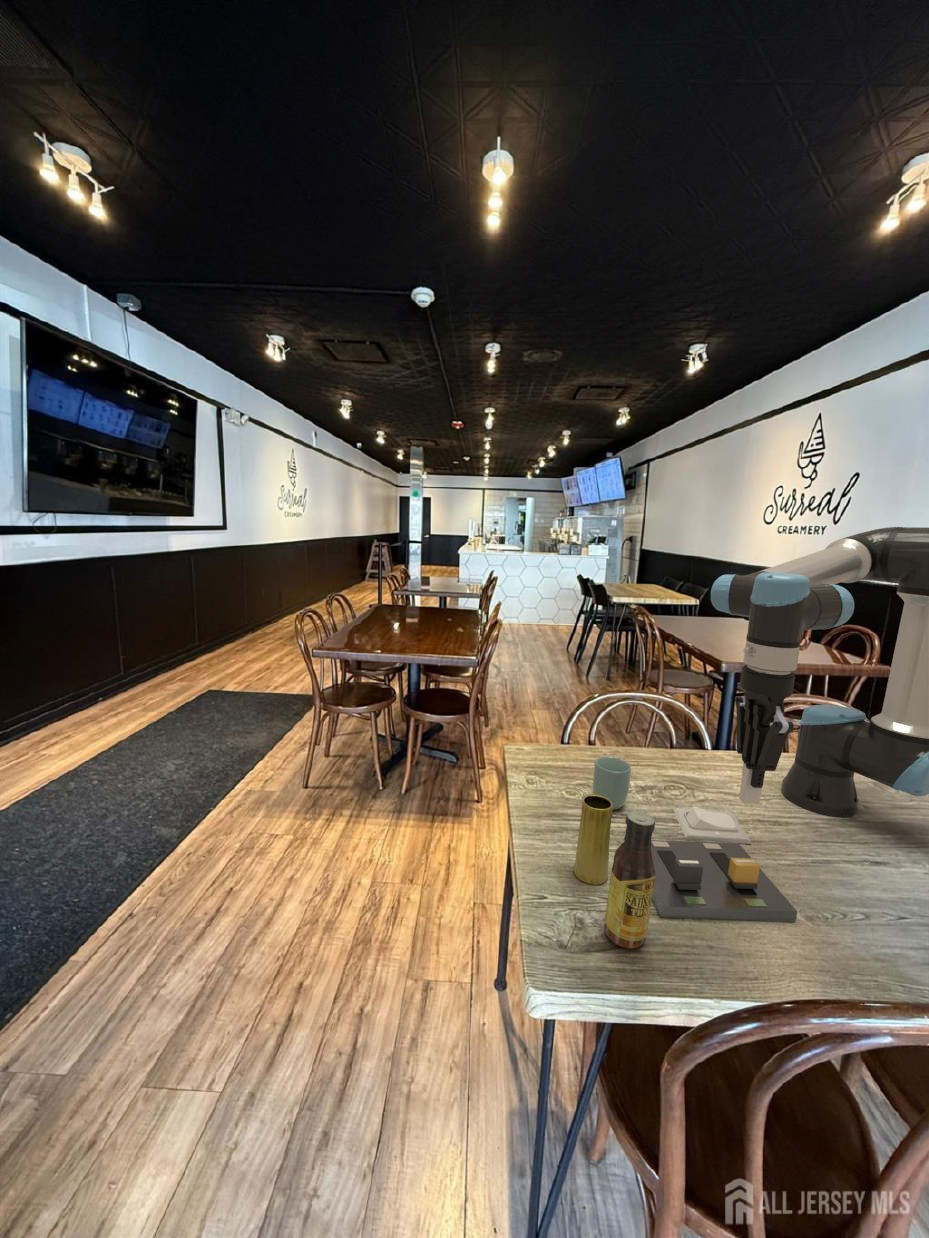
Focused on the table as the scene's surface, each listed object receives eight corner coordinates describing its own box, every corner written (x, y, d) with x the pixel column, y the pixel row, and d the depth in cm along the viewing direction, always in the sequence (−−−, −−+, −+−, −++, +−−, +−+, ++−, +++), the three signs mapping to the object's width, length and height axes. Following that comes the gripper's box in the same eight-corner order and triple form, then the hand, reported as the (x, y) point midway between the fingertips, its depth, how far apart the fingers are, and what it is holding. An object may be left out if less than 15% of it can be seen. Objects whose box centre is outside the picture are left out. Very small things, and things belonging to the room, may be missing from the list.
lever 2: (748, 877, 89) (751, 855, 89) (758, 889, 87) (761, 867, 86) (725, 876, 89) (729, 854, 89) (734, 888, 86) (738, 866, 86)
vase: (614, 883, 90) (621, 809, 88) (582, 887, 89) (589, 812, 86) (598, 861, 96) (605, 791, 93) (568, 864, 95) (574, 794, 92)
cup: (614, 818, 111) (618, 775, 109) (584, 803, 116) (588, 762, 115) (633, 806, 116) (637, 765, 114) (603, 792, 122) (607, 753, 120)
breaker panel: (737, 852, 100) (738, 842, 100) (795, 922, 83) (797, 910, 82) (626, 848, 100) (627, 838, 100) (660, 917, 83) (662, 905, 82)
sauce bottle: (622, 957, 75) (636, 834, 71) (595, 926, 80) (607, 810, 77) (656, 944, 77) (671, 825, 74) (628, 915, 83) (640, 803, 79)
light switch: (673, 797, 115) (733, 801, 113) (672, 814, 116) (732, 818, 114) (685, 824, 105) (752, 828, 103) (684, 842, 105) (751, 847, 103)
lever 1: (693, 878, 89) (696, 856, 88) (701, 890, 86) (704, 867, 85) (671, 877, 89) (673, 855, 88) (678, 889, 86) (681, 867, 85)
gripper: (725, 657, 89) (709, 781, 94) (769, 679, 76) (748, 822, 81) (768, 658, 89) (750, 782, 94) (818, 681, 76) (795, 823, 81)
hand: (749, 800), depth 87 cm, fingers closed
